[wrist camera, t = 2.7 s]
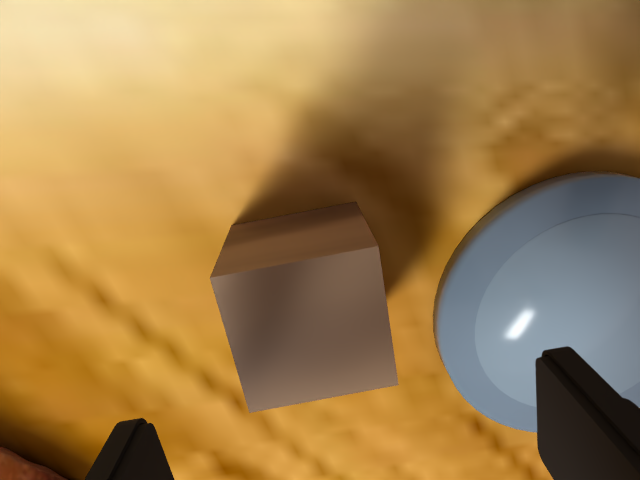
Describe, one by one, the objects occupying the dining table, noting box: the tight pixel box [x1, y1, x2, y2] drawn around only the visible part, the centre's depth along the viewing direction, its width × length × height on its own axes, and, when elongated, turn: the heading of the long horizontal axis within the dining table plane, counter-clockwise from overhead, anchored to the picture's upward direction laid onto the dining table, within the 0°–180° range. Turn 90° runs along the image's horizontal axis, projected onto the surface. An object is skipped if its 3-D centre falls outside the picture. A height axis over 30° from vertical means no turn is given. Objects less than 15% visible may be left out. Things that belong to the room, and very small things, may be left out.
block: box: [210, 202, 398, 413], centre depth 16 cm, size 5×5×5 cm
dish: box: [433, 171, 640, 432], centre depth 19 cm, size 12×12×1 cm
